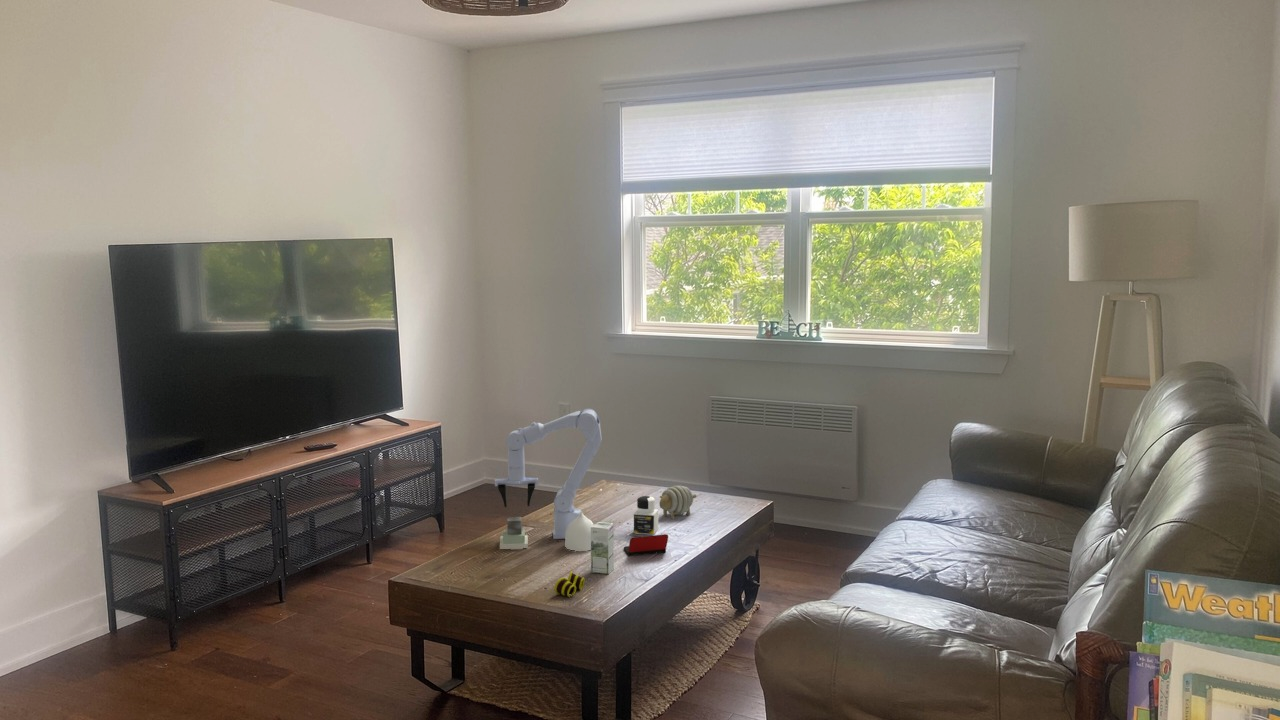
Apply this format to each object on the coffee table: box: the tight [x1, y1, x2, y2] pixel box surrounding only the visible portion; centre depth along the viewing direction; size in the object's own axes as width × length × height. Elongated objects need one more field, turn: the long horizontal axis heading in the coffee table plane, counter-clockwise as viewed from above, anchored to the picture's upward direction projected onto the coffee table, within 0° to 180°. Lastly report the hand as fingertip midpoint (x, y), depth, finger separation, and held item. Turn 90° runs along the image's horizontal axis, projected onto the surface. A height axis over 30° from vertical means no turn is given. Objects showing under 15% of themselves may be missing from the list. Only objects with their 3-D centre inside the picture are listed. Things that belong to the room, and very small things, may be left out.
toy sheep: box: [658, 485, 697, 519], centre depth 326 cm, size 11×17×11 cm, turn 133°
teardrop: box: [564, 510, 594, 552], centre depth 292 cm, size 11×11×12 cm
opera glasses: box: [553, 570, 586, 598], centre depth 253 cm, size 10×5×5 cm, turn 156°
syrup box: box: [590, 521, 615, 575], centre depth 269 cm, size 6×6×14 cm
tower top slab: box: [502, 528, 526, 544], centre depth 294 cm, size 7×7×2 cm
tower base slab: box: [499, 534, 529, 550], centre depth 294 cm, size 9×9×2 cm
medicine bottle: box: [633, 495, 659, 536], centre depth 308 cm, size 7×7×12 cm
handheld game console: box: [623, 533, 669, 557], centre depth 286 cm, size 12×11×7 cm
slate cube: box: [506, 516, 523, 535], centre depth 294 cm, size 4×4×4 cm
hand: (517, 505), depth 303 cm, fingers open, 7 cm apart
